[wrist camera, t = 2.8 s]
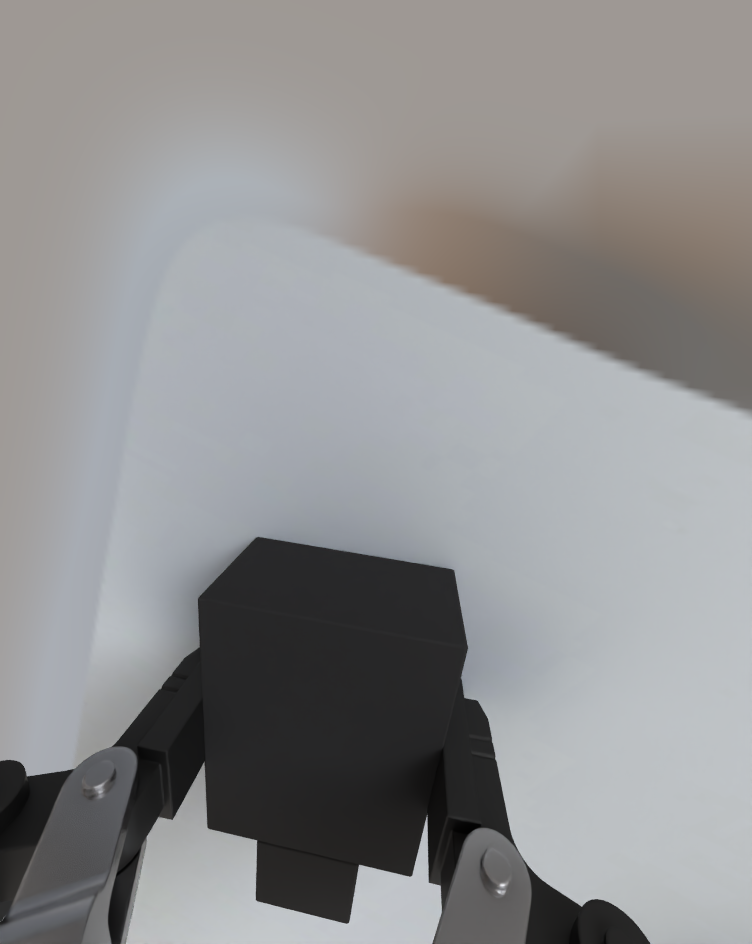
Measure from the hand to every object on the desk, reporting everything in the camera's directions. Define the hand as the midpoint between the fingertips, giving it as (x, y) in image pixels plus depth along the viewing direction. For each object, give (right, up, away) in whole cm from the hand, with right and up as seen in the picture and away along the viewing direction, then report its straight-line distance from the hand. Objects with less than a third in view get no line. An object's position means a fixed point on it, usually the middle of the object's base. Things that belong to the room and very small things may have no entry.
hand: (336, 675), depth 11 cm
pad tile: (0, -1, +1) cm, 2 cm away
